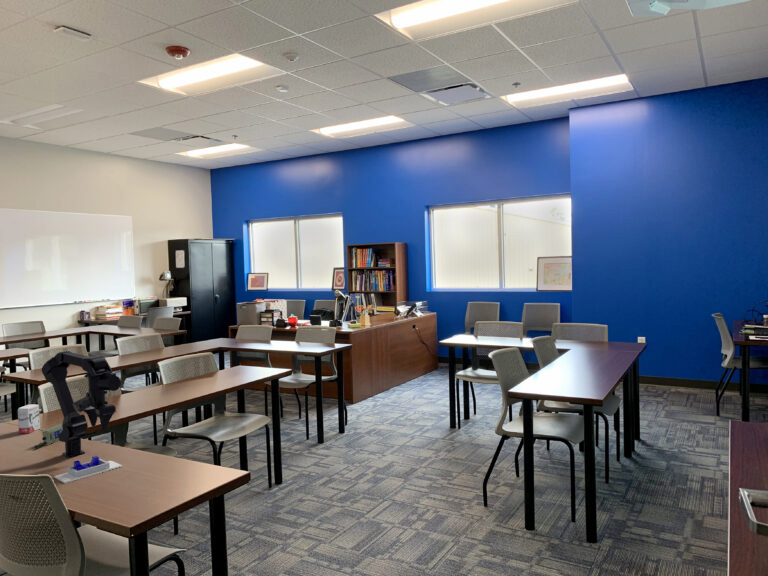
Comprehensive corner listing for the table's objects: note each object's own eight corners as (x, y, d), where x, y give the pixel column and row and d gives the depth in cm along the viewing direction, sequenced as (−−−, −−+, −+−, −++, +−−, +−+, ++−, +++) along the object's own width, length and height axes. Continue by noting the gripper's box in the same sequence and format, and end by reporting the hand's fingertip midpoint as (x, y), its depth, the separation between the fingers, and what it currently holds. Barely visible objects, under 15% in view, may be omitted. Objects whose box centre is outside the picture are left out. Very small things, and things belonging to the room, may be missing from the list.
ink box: (28, 433, 259) (27, 408, 259) (18, 434, 259) (17, 408, 259) (40, 428, 268) (39, 403, 268) (30, 428, 268) (29, 403, 268)
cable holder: (77, 474, 204) (77, 463, 203) (74, 472, 206) (73, 461, 206) (100, 468, 210) (100, 457, 209) (96, 466, 212) (96, 455, 212)
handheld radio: (79, 432, 260) (39, 450, 235) (72, 432, 261) (32, 450, 236) (78, 418, 260) (38, 434, 235) (71, 418, 260) (31, 434, 236)
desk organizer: (54, 477, 203) (54, 470, 203) (111, 462, 218) (110, 455, 218) (64, 483, 197) (64, 476, 197) (121, 466, 212) (121, 460, 212)
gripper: (65, 389, 221) (67, 429, 221) (85, 396, 209) (87, 437, 209) (94, 384, 229) (96, 422, 230) (115, 390, 217) (117, 430, 218)
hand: (98, 428), depth 222 cm, fingers open, 9 cm apart
